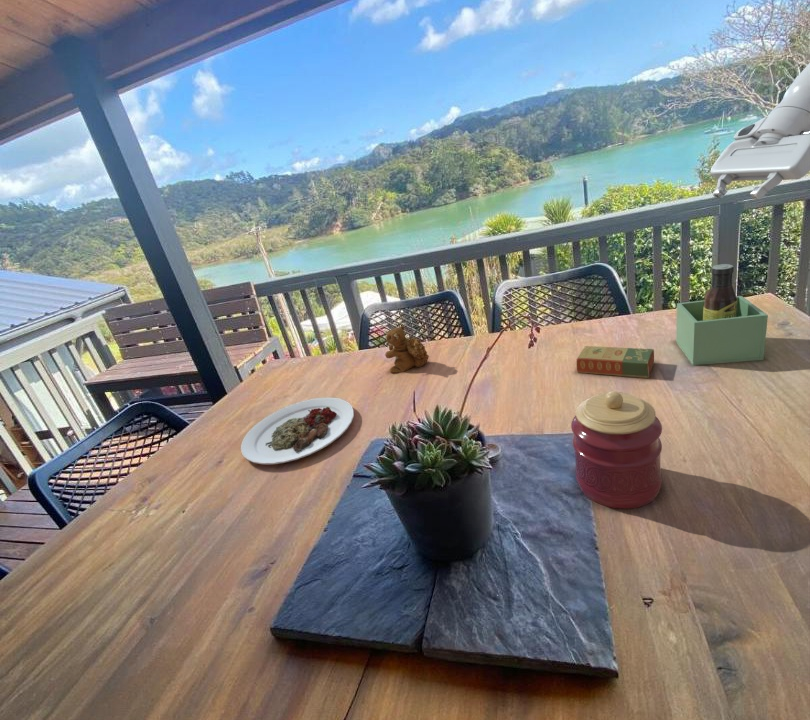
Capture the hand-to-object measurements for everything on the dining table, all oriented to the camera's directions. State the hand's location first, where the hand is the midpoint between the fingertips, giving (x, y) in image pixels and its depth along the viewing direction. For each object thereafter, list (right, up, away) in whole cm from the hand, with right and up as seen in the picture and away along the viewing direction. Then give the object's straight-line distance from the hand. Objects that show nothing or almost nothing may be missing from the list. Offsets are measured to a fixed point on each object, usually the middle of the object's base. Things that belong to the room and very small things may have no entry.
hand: (734, 197), depth 91 cm
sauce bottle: (+6, -31, +14) cm, 35 cm away
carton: (-17, -36, +17) cm, 44 cm away
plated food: (-97, -54, +24) cm, 113 cm away
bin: (+6, -32, +14) cm, 35 cm away
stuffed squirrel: (-67, -36, +47) cm, 90 cm away
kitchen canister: (-33, -55, -17) cm, 67 cm away
